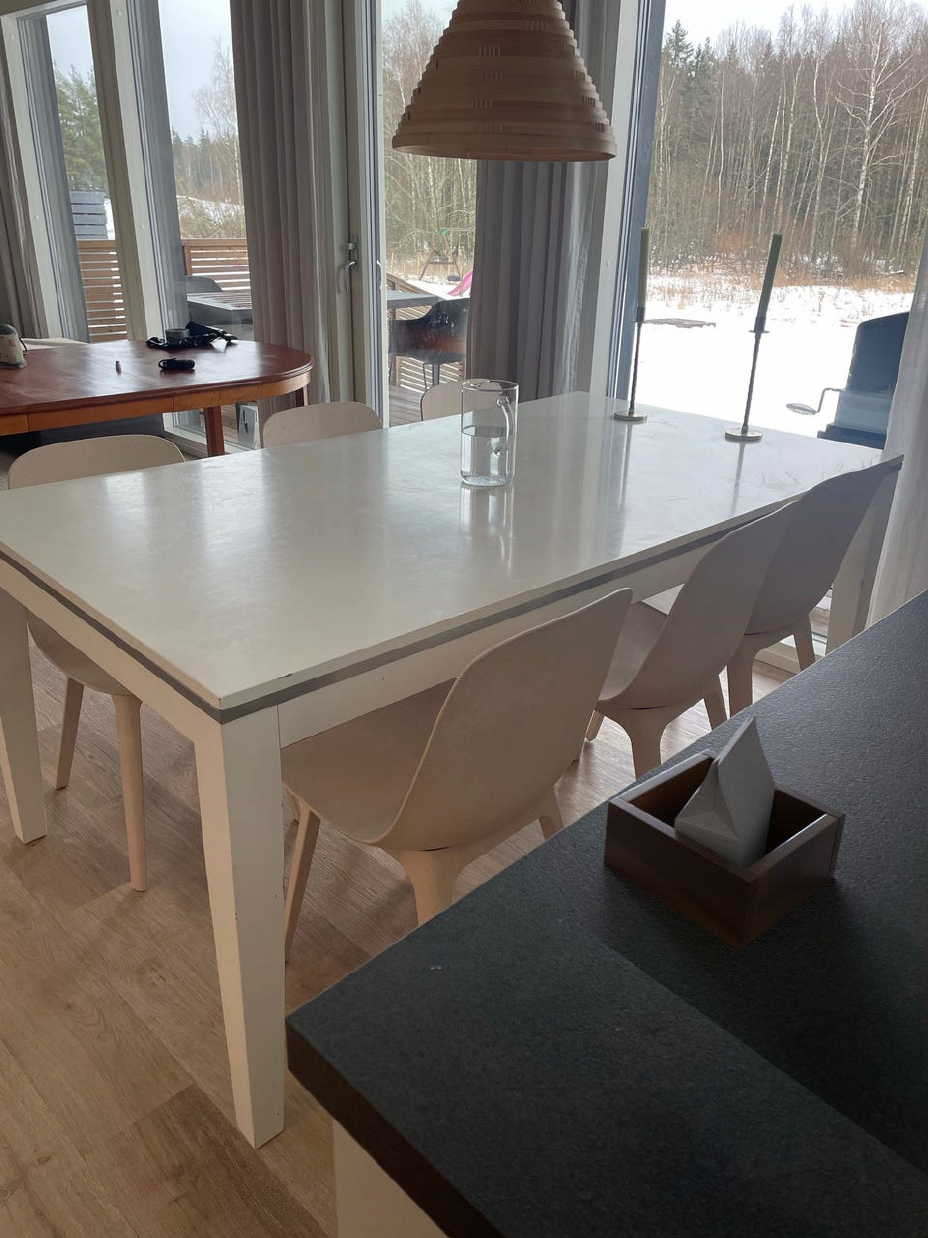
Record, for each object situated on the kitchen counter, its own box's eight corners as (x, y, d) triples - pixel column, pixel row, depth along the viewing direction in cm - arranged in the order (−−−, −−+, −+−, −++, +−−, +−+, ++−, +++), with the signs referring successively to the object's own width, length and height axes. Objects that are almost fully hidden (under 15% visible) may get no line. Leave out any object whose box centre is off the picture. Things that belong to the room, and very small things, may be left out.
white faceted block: (762, 866, 58) (785, 724, 54) (727, 929, 52) (749, 776, 48) (704, 846, 59) (722, 707, 56) (665, 905, 54) (682, 756, 50)
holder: (697, 829, 62) (707, 748, 60) (829, 902, 56) (846, 814, 53) (600, 888, 57) (608, 801, 54) (734, 978, 50) (749, 882, 48)
